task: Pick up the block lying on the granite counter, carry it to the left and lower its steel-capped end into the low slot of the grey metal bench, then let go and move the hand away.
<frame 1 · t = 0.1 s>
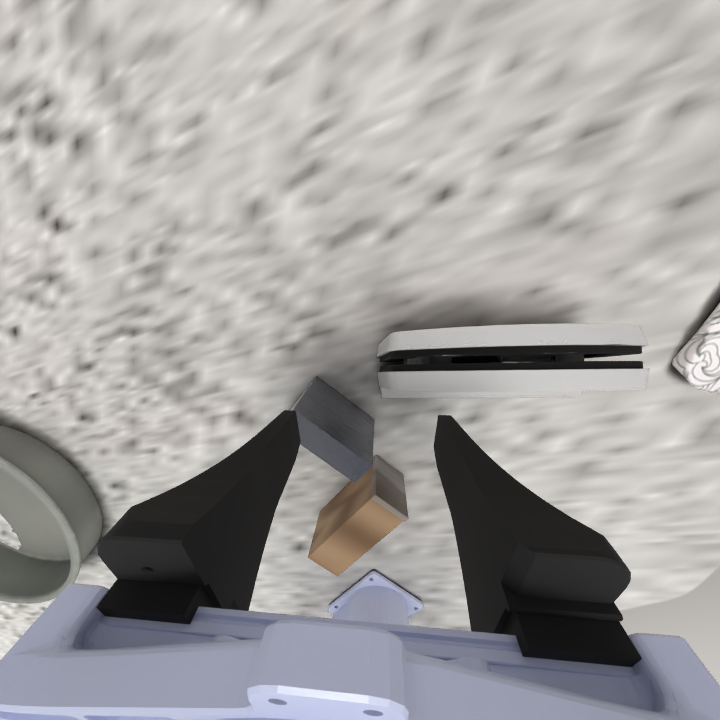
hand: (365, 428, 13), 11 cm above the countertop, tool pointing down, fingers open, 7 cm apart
grey metal bench: (321, 426, 25), on the countertop
block: (359, 493, 27), on the countertop
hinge: (471, 353, 22), on the countertop
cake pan: (24, 494, 32), on the countertop
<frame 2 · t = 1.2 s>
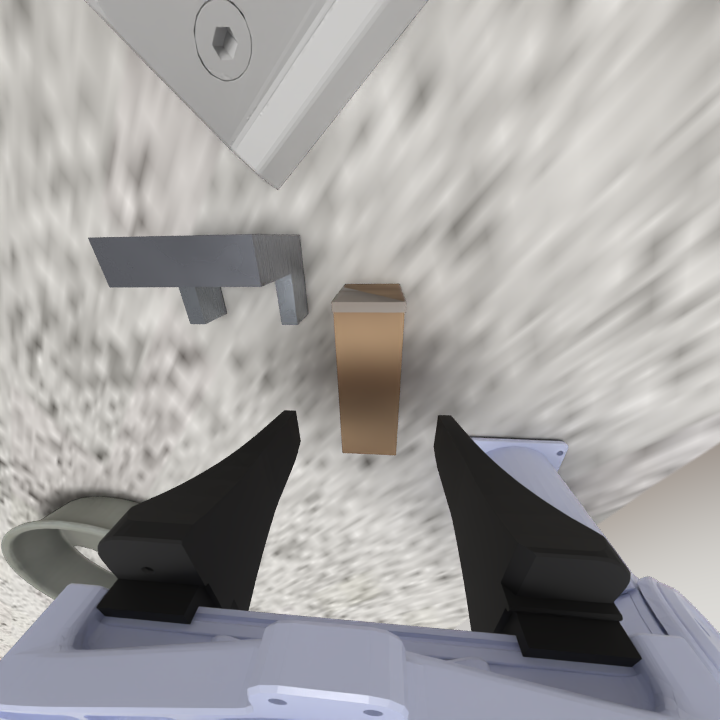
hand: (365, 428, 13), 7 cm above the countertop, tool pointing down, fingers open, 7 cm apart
grey metal bench: (257, 299, 18), on the countertop
block: (371, 353, 19), on the countertop
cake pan: (143, 545, 35), on the countertop
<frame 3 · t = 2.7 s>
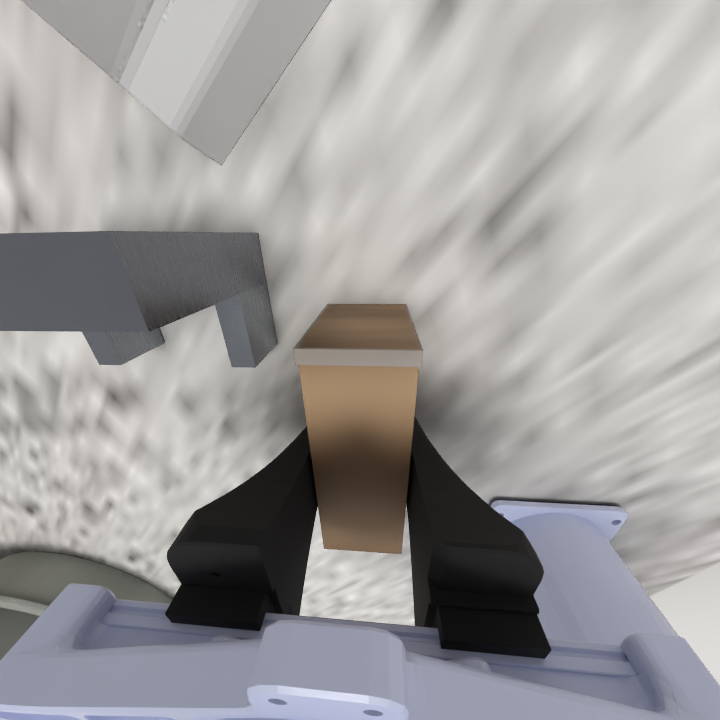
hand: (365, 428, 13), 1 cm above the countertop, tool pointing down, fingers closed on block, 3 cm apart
grey metal bench: (205, 324, 13), on the countertop
block: (366, 396, 14), on the countertop, touching gripper
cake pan: (101, 599, 30), on the countertop
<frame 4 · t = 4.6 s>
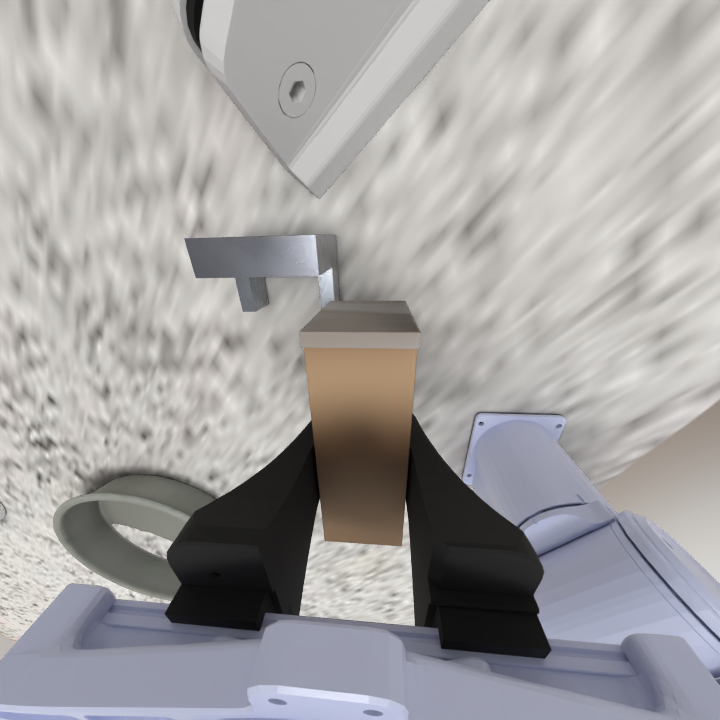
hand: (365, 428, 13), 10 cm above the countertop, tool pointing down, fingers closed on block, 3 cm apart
grey metal bench: (296, 291, 21), on the countertop
block: (367, 391, 14), point 9 cm above the countertop, touching gripper
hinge: (368, 27, 14), on the countertop
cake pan: (175, 522, 38), on the countertop
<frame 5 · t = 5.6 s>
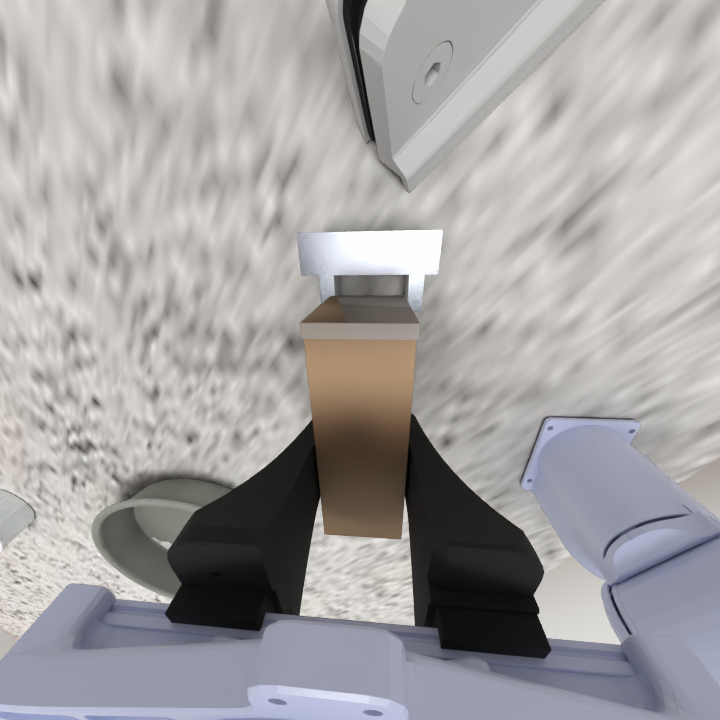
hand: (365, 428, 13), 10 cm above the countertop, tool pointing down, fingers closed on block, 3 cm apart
ramekin: (10, 502, 37), on the countertop
grey metal bench: (372, 290, 20), on the countertop
block: (367, 386, 14), point 8 cm above the countertop, touching gripper
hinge: (486, 8, 13), on the countertop
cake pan: (211, 527, 37), on the countertop
when the fingers open (3 cm above the countertop, at t = 8.0 s): block stays where it is, on the countertop.
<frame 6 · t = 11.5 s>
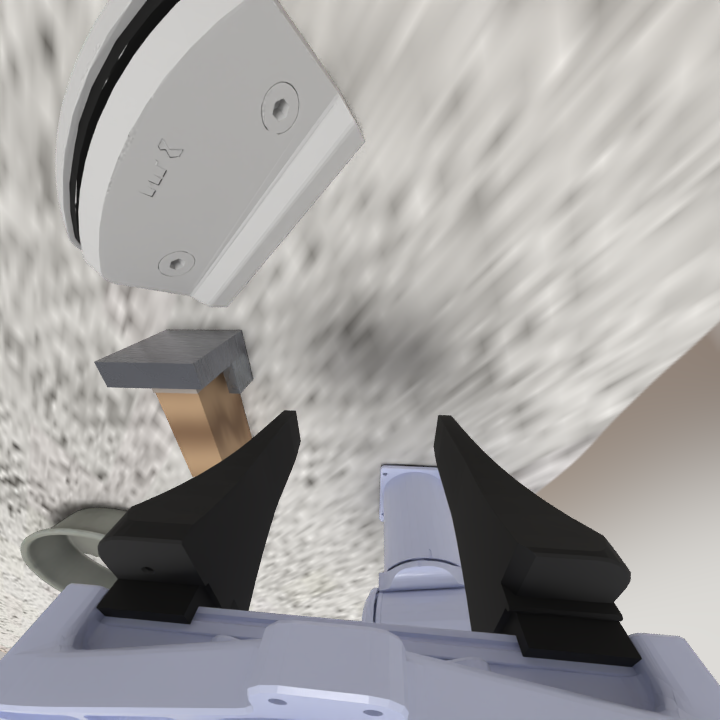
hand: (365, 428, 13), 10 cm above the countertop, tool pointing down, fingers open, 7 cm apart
grey metal bench: (215, 369, 24), on the countertop
block: (225, 402, 26), on the countertop
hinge: (246, 192, 18), on the countertop
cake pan: (137, 547, 41), on the countertop
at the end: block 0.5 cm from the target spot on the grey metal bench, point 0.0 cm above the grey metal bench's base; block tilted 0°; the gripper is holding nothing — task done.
